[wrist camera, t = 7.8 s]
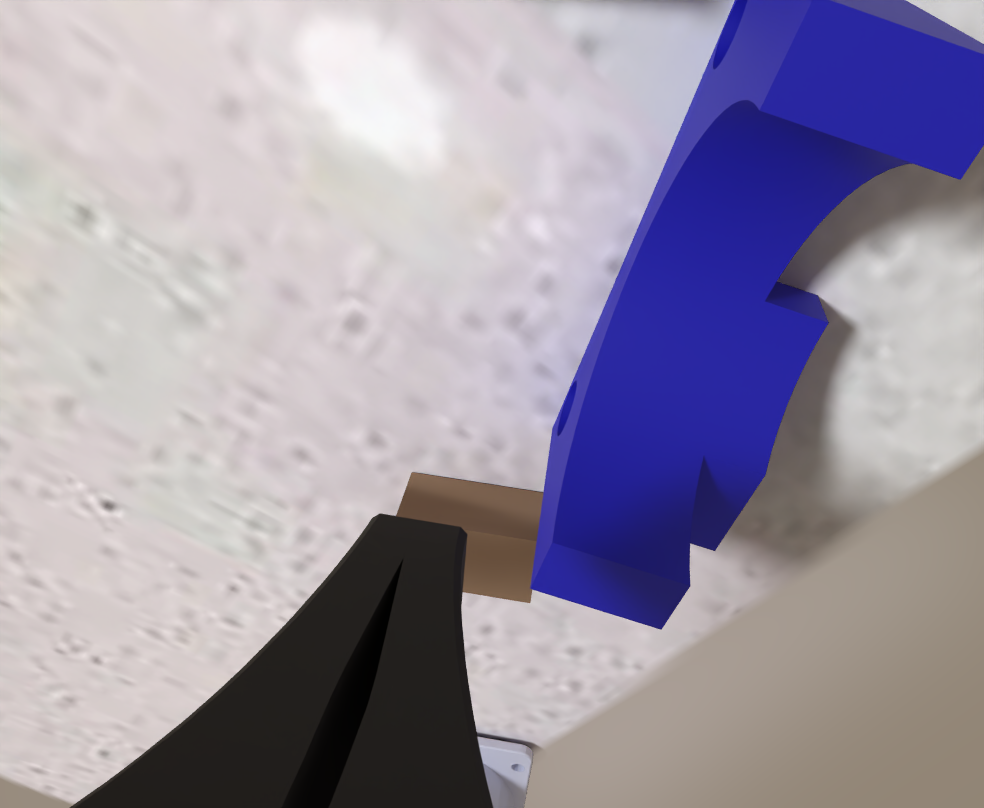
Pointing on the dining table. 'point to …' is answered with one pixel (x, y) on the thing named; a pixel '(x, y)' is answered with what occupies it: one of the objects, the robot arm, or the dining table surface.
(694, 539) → the blue block with holes
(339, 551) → the dining table surface
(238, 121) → the dining table surface
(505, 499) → the end blocks
